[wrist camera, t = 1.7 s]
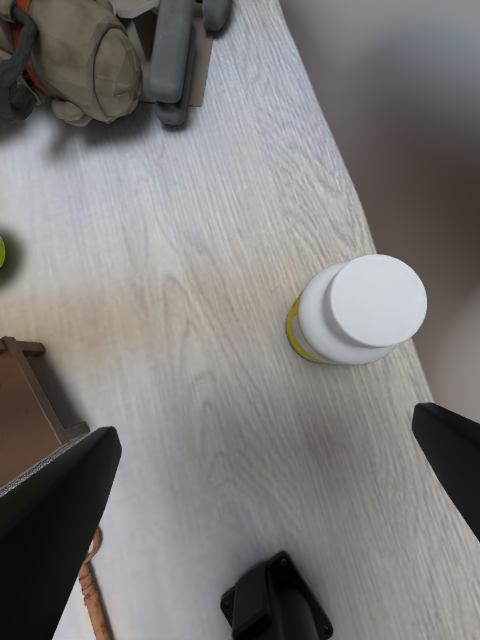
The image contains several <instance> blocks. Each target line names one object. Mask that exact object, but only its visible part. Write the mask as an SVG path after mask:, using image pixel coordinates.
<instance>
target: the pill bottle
mask: <svg viewBox="0 0 480 640" xmlns="http://www.w3.org/2000/svg"><path fill="white" fill-rule="evenodd" d="M426 309H427V297H426V292H425V289H424V286H423V284H422V282H421V280H420V279H419V277H418V275H417V274H416V273H415V272H414V271H413V270H412V269H411V268H410V267H409V266H407V265H406V264H405V263H403V262H402V261H400V260H398V259H396V258H393V257H390V256H386V255H376V254H373V255H366V256H361V257H358V258H356V259H354V260H352V261H349V262H341V263H337V264H334V265H331V266H329V267H327V268H325V269H323V270H322V271H320V272H319V273H317V274H316V275H315V276H314V277H313V278H312V279H311V280H310V282H309V283H308V284H307V285H306V287H305V288H304V290H303V291H302V293H301V294H300V295H299V297H298V298H297V299H296V301H295V302H294V304H293V305H292V307H291V308H290V310H289V312H288V315H287V318H286V334H287V338H288V340H289V343H290V344H291V346H292V347H293V349H294V350H295V351H296V352H297V353H298V354H299V355H300V356H302V357H303V358H305V359H307V360H309V361H312V362H316V363H327V364H345V365H360V364H367V363H371V362H374V361H377V360H379V359H381V358H383V357H385V356H386V355H388V354H389V353H390V352H391V351H393V350H394V349H395V348H396V346H397V345H398V344H399V343H402V342H404V341H405V340H407V339H408V338H410V337H411V336H412V335H414V333H416V331H417V330H418V329H419V328H420V326H421V324H422V322H423V321H424V318H425V315H426Z"/></svg>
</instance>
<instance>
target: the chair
mask: <svg viewBox="0 0 480 640" xmlns="http://www.w3.org/2000/svg"><path fill="white" fill-rule="evenodd" d="M44 352H46V351H45V349H44V347H43V345H42V343H36V342H25V341H16V339H15V338H14V337H7V336H4V337H2V338H1V339H0V490H2V489H3V488H4V487H6V486H7V485H9V484H10V483H12V482H13V481H15V480H16V479H17V478H19V477H20V476H22V475H23V474H25V473H26V472H28V471H29V470H30V469H32V468H33V467H35V466H36V465H38V464H39V463H41V462H42V461H44V460H45V459H46V458H48V457H49V456H51V455H52V454H54V453H55V452H57V451H58V450H59V449H61V448H62V447H64V446H65V445H67V444H68V443H70V442H72V441H74V440H76V439H79V438H81V437H82V436H84V435H85V434H87V433H88V432H90V430H89V428H88V426H87V424H86V423H85V422H82V423H80V424H77V425H74V426H71V427H69V428H66V429H64V428H63V427H62V425H61V423H60V421H59V419H58V417H57V415H56V414H55V412H54V410H53V408H52V406H51V404H50V402H49V401H48V399H47V397H46V395H45V393H44V391H43V389H42V388H41V386H40V384H39V382H38V380H37V378H36V376H35V375H34V373H33V371H32V369H31V367H30V365H29V363H28V362H27V360H26V358H25V357H38V356H40V355H41V354H43V353H44Z"/></svg>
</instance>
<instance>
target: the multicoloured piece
mask: <svg viewBox="0 0 480 640" xmlns="http://www.w3.org/2000/svg"><path fill="white" fill-rule="evenodd" d="M14 81H17V87H18V90H17V92H16V95H15V97H14V98H13V100H12V101H11V102H10V96H9V86H10V85H11V84H12V83H13V82H14ZM142 88H143V71H142V70H141V59H140V57H139V55H138V53H137V51H136V49H135V47H134V45H133V43H132V42H131V41H130V40H129V38H128V35H127V32H126V29H125V27H124V26H123V25H122V24H121V22H120V21H119V20H118V18H117V17H116V16H115V15H114V12H113V6H112V4H111V2H110V1H109V0H0V117H2V118H7V119H8V120H11V121H12V120H25V119H26V118H27V117H28V116H29V114H31V112H32V109H33V107H34V105H36V106H39V105H41V104H42V103H44V101H45V97H46V94H47V95H49V96H51V97H53V98H56V99H57V100H56V99H54V100H52V104H51V105H52V110H53V114H54V115H55V116H56V117H57V118H59V119H63V121H64V122H66V123H69V124H72V125H74V126H85V125H87V124H88V123H89V122H90V121H91V120H92V118H95V119H97V120H100V121H103V122H105V123H107V124H109V123H111V122H113V121H114V120H115V119H116V118H118V117H122V116H125V115H127V114H130V113H131V112H132V111H133V110H134V108H135V107H136V106H137V104H138V98H139V95H140V94H141V92H142Z"/></svg>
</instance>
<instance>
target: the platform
mask: <svg viewBox="0 0 480 640" xmlns="http://www.w3.org/2000/svg"><path fill="white" fill-rule="evenodd" d="M159 6H160V0H116V3H115V9H116V11H117V13H116V17H117V18H118V20H119V21H120V22H121V24H122V25H123V26H124V27H125V29H126V32H127V35H128V38H129V40H130V41H131V42H132V43H133V45H134V47H135V49H136V51H137V53H138V55H139V57H140V59H141V70H142V71H143V88H142V92H141V94H140V95H139V98H138V101H144V102H155V101H156V99H155V98H153V96H152V95H151V94H150V92H149V89H148V78H149V71H150V65H151V58H152V52H153V46H154V39H155V32H156V25H157V19H158V13H159ZM192 22H193V24H194V25H195V28H196V43H195V50H194V57H193V64H192V72H191V80H190V87H189V95H188V103H187V105H191V106H202V101H203V95H204V89H205V83H206V77H207V71H208V65H209V59H210V53H211V47H212V41H213V35H214V30H206V29H204V24H203V9H202V4H200V3H196V2H195V0H194V12H193V19H192Z"/></svg>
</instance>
